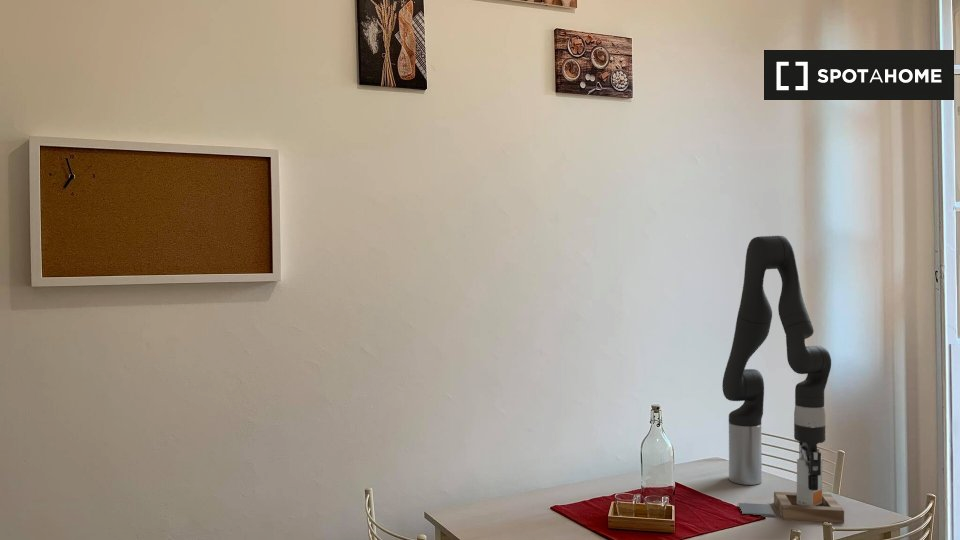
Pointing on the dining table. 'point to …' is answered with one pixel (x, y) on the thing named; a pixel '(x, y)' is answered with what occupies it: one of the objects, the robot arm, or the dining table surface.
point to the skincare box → (803, 492)
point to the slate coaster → (756, 509)
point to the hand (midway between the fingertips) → (809, 485)
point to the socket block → (808, 508)
